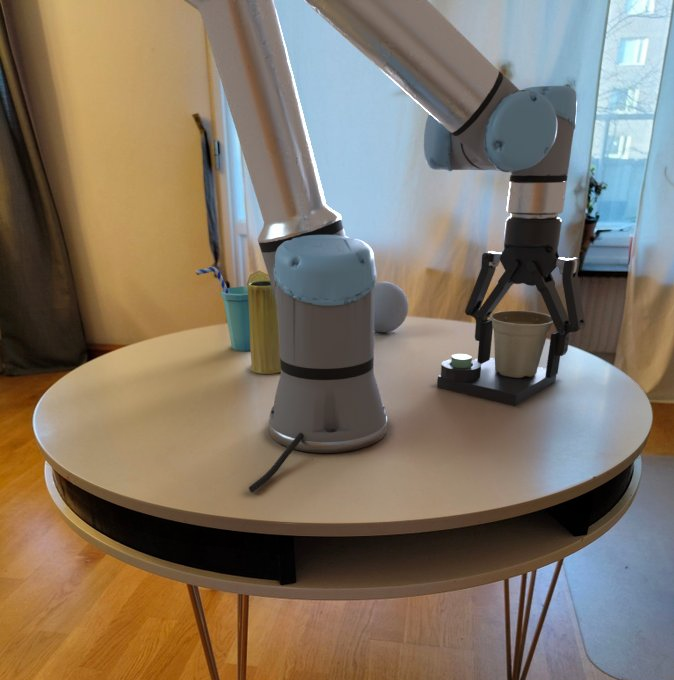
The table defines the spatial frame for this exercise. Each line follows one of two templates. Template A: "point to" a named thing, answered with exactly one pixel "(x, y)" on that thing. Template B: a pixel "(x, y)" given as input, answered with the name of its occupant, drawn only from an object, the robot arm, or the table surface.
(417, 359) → the table surface
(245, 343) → the cup
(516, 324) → the flower pot
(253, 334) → the vase
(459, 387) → the scale
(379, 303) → the decorative stone
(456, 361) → the button
